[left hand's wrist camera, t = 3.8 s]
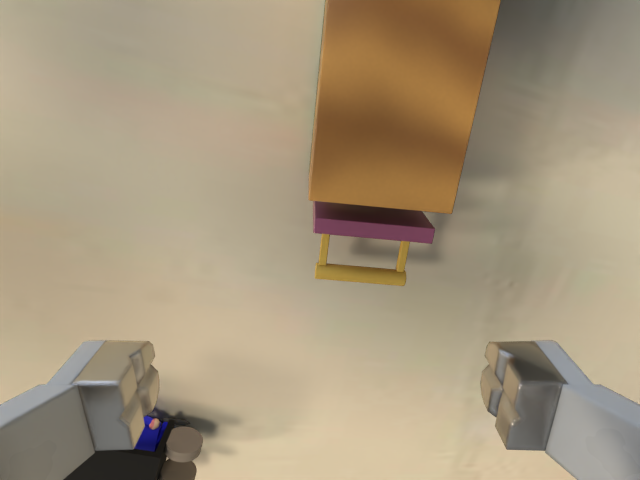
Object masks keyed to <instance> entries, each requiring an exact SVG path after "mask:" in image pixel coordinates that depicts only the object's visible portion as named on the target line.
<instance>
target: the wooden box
mask: <svg viewBox="0 0 640 480" xmlns="http://www.w3.org/2000/svg"><path fill="white" fill-rule="evenodd" d="M500 2H501V0H325V9H324V20H323V30H322V41H321V51H320V61H319V72H318V82H317V93H316V103H315V114H314V124H313V135H312V145H311V156H310V166H309V200H310V201H321V202H332V203H342V204H353V205H363V206H374V207H385V208H395V209H406V210H416V211H427V212H438V213H448V214H452V211H453V206H454V202H455V198H456V193H457V189H458V185H459V180H460V176H461V172H462V167H463V163H464V159H465V154H466V150H467V146H468V141H469V137H470V133H471V128H472V124H473V120H474V115H475V111H476V107H477V102H478V98H479V94H480V89H481V85H482V81H483V76H484V72H485V68H486V63H487V59H488V55H489V50H490V46H491V42H492V37H493V33H494V28H495V24H496V20H497V15H498V11H499V7H500Z"/></svg>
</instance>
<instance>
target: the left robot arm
mask: <svg viewBox="0 0 640 480" xmlns="http://www.w3.org/2000/svg"><path fill="white" fill-rule="evenodd" d="M154 357H155V352H154V348H153V344H152V343H150V342H149V341H112V340H109V341H106V340H89V341H86V342H83V343H82V344H81V345H80V346H79V348H78V349H77V350H76V351H75V352H74V353H73V354H72V356H71V357H70V358H69V359H68V360H67V361H66V362H65V364H64V365H63V366H62V367H61V368H60V369H59V370H58V372H57V373H56V374H55V375H54V376H53V377H52V379H51V380H50V381H49V382H48V383H47V384H46V385H38V386H36V387H34V388H32V389H30V390H28V391H26V392H24V393H22V394H20V395H18V396H16V397H14V398H12V399H10V400H8V401H6V402H4V403H3V404H1V405H0V480H63V479H64V478H66V477H67V476H68V475H69V474H70V473H72V472H73V471H74V470H75V469H76V468H77V467H79V466H80V465H81V464H82V463H83V462H84V461H86V460H87V459H88V458H89V457H90V456H92V455H93V454H94V453H95V451H99V450H133V449H134V447H135V445H136V443H137V441H138V439H139V437H140V435H141V433H142V431H143V429H144V427H145V424H144V417H145V416H146V415H148V414H149V413H150V412H152V411H153V408H154V406H155V404H156V402H157V397H158V393H159V375H158V371H157V370H156V369H155V368H154V367H153V366H152V365H151V363H152V361H153V359H154ZM485 357H486V359H487V361H488V363H489V365H488V366H487V367H486V368H485V369H484V370H483V371H482V376H481V394H482V398H483V401H484V404H485V406H486V408H487V411H488V412H490V413H491V414H492V415H494V416H495V417H497V418H496V424H495V427H496V429H497V431H498V433H499V435H500V437H501V439H502V441H503V443H504V445H505V447H506V449H507V450H541V451H545V453H546V454H548V455H549V456H550V457H551V458H552V459H553V460H555V461H556V462H557V463H558V464H559V465H560V466H562V467H563V468H564V469H565V470H566V471H567V472H569V473H570V474H571V475H572V476H573V477H575V478H576V479H577V480H640V405H639V404H637V403H635V402H633V401H632V400H630V399H628V398H626V397H624V396H622V395H620V394H618V393H616V392H614V391H612V390H610V389H608V388H606V387H604V386H602V385H594V384H593V383H592V382H591V381H590V380H589V379H588V377H587V376H586V375H585V374H584V373H583V372H582V370H581V369H580V368H579V367H578V366H577V365H576V364H575V362H574V361H573V360H572V359H571V358H570V357H569V356H568V354H567V353H566V352H565V351H564V350H563V349H562V348H561V346H560V345H559V344H558V343H557V342H555V341H553V340H539V341H513V342H489V343H488V345H487V347H486V352H485Z"/></svg>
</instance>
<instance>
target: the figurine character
mask: <svg viewBox="0 0 640 480" xmlns="http://www.w3.org/2000/svg"><path fill="white" fill-rule="evenodd" d="M160 421H161V422H162V423H163V424H162V426H161V422H160ZM144 424H145V427H144V429H143V431H142V433H141V435H140V437H139V439H138V441H137V443H136V445H135V447H134V449H133V450H99V451H95V453H94V454H93V455H92V456H90V457H89V458H88V459H87V460H86V461H84V462H83V463H82V464H81V465H80V466H79V467H77V468H76V469H75V470H74V471H73V472H72V473H70V474H69V475H68V476H67V477H66V478H64V479H63V480H158V479H159V480H194V479H195V476H196V466H195V464H194V463H193V462H192V460H194V459H195V458H196V457H197V456H198V455H199V454H200V451H201V447H202V443H203V437H202V435H201V434H200V432H198V431H197V430H196V429H194V428H191V427H185V426H183V427H177V428H174V424H176V425H187V424H190V423H189V422H188V421H186V420H180V419H170V418H163V419H160V420H158V419H156V418H155V419H153V418H151V417H149V416H147V415H146V416H145V417H144ZM173 428H174V429H173ZM166 457H168V458H169V459H168V460H166Z"/></svg>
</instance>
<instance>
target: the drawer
mask: <svg viewBox="0 0 640 480" xmlns="http://www.w3.org/2000/svg"><path fill="white" fill-rule="evenodd" d="M313 232H314V233H319V234H322V237H321V246H320V255H319V263H316V267H315V279H326V280H338V281H350V282H362V283H374V284H386V285H398V286H404V285H405V282H406V272H405V270H404V269H405V264H406V259H407V253H408V248H409V243H410V242H419V243H430V244H432V241H433V237H434V232H435V228H434V227H433V225H432V224H431V223H430V222H429V220H428V219H427V218H426V216H425V215H424V214H423V212H422V211H416V210H406V209H395V208H385V207H374V206H363V205H353V204H342V203H332V202H321V201H313ZM330 235H341V236H353V237H364V238H375V239H386V240H397V241H401V244H400V249H399V254H398V260H397V265H396V270H395V269H384V268H372V267H360V266H349V265H337V264H326V262H327V253H328V245H329V237H330Z"/></svg>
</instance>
